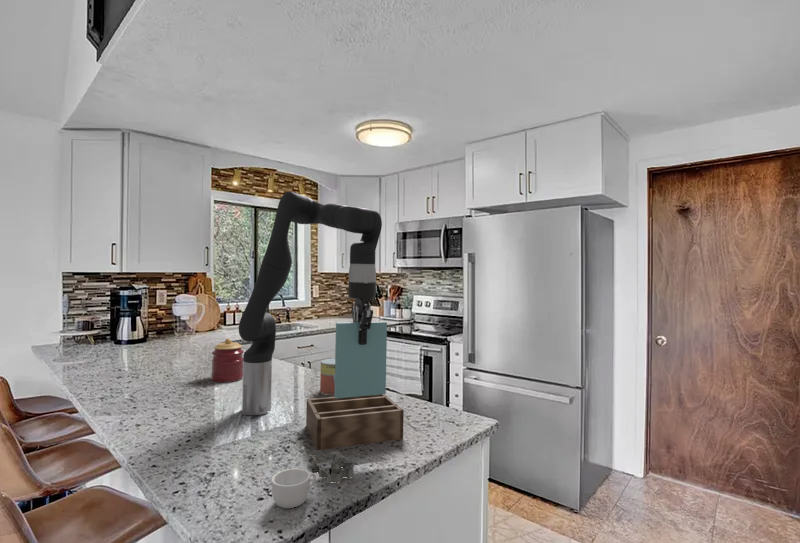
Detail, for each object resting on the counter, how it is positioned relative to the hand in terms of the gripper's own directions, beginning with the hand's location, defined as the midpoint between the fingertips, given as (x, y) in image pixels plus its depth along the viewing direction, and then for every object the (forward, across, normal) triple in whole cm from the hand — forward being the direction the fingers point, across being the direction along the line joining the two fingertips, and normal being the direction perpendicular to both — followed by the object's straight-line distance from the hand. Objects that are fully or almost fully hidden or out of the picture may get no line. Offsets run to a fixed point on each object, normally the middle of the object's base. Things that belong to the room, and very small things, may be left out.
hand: (361, 343), depth 117 cm
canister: (+28, -87, -35) cm, 97 cm away
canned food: (+28, -54, +5) cm, 62 cm away
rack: (+28, -6, 0) cm, 29 cm away
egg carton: (+29, +13, -10) cm, 33 cm away
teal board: (+14, 0, 0) cm, 14 cm away
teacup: (+28, +22, -20) cm, 42 cm away
